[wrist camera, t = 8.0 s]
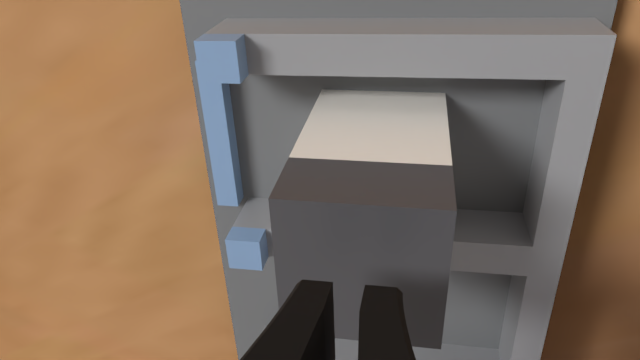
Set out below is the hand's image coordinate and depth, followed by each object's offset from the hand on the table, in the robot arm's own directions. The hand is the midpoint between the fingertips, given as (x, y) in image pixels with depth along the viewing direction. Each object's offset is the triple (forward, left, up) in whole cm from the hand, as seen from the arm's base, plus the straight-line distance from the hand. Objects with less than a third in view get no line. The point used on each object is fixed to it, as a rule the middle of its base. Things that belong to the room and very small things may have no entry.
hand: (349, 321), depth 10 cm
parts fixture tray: (-7, 0, -9) cm, 12 cm away
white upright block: (0, 0, -9) cm, 9 cm away
